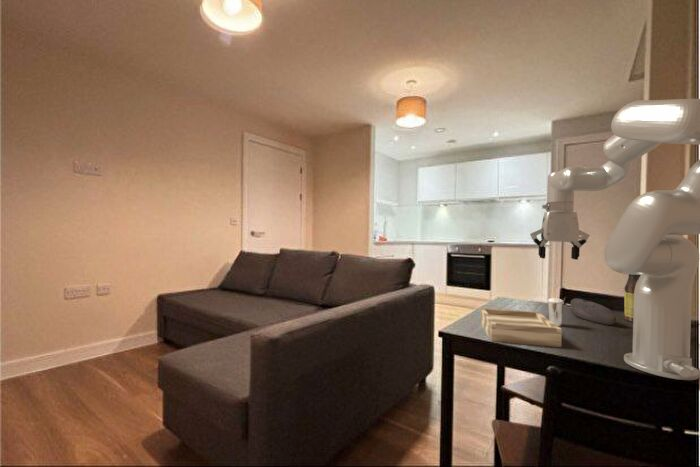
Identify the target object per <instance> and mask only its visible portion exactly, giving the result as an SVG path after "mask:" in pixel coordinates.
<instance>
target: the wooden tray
mask: <svg viewBox="0 0 700 467" xmlns="http://www.w3.org/2000/svg"><path fill="white" fill-rule="evenodd" d="M479 308H480V312H479V313H480V314H479V318H480V320H479V323H480V325H481V326H482V329H483V330H484V332H485V333H486V335H487V336H488V338H489V340H490V342H497V343H499V342H500V343H512V344H521V345H523V344H524V345H533V346H545V347H555V348H558V347H559V348H562V339H563V338H562V336H563V335H562V334H563V332H562V330H563V329H562V328H561V326H557V325H556V324H554V323H553V322H551V321H550V320H549V319H548V318H547V317H546V316H544V315H543V314H541V312H539V311H530V310H529V311H527V310H516V309H515V310H514V309H513V310H512V309H497V308H496V309H495V308H482V307H479Z"/></svg>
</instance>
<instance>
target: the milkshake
mask: <svg viewBox="0 0 700 467" xmlns="http://www.w3.org/2000/svg"><path fill="white" fill-rule="evenodd" d="M565 300H566V297H564V298H563V299H561V298H559V297H558V298H556V297H550V298H548V299H547V305H548V318H549V320H550V321H551V322H553V323H554V324H556V325H557V326H558V327H561V326H562V321H563V320H562V319H563V312H564V311H563V310H564V304H565Z"/></svg>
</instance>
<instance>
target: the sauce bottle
mask: <svg viewBox="0 0 700 467" xmlns="http://www.w3.org/2000/svg"><path fill="white" fill-rule="evenodd" d="M640 276H641V275H631V274H628V278H627V280H626V284H625V286H624V288H623V292H624V295H623V296H624V297H623V298H624V299H623V300H624V301H623V302H624V304H623V305H624V317H625V318H624V319H625V320H627V321H629V322H632V323H633V311H634V290H635V286H636V283H637V281H638V279H639V277H640Z"/></svg>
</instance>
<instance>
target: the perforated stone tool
mask: <svg viewBox="0 0 700 467" xmlns="http://www.w3.org/2000/svg"><path fill="white" fill-rule="evenodd" d="M569 307H570V308H569V309H570V313H572V315H574V316H576V317H578V318H579V319H582V320H585V321H590V322H594V323H597V324H601V325H606V326H607V325H608V326H609V325H610V326H611V325H613V324H615V323H616V322H617V317H616V314H615V313H614V312H613V311H612V310H611V309H610V308H609V307H606V306H605V305H603V304H599V303H597V302H594V301H590V300H586V299H583V298H577V297H576V298H573V299H571V300H570V306H569Z"/></svg>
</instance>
